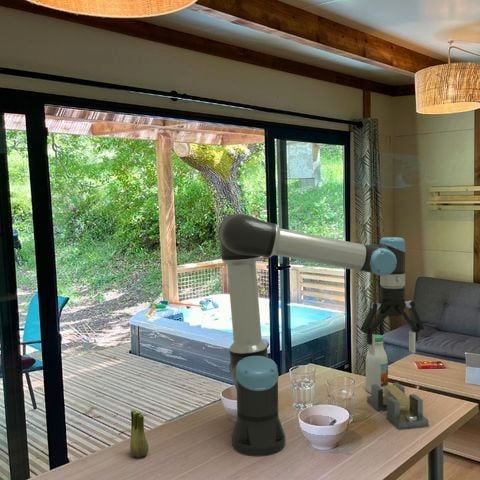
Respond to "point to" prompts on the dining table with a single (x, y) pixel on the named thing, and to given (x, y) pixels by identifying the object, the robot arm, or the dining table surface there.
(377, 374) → the milk bottle
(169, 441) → the dining table surface
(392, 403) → the bracket
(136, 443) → the fennel bulb
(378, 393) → the chain end far
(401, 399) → the link bar
